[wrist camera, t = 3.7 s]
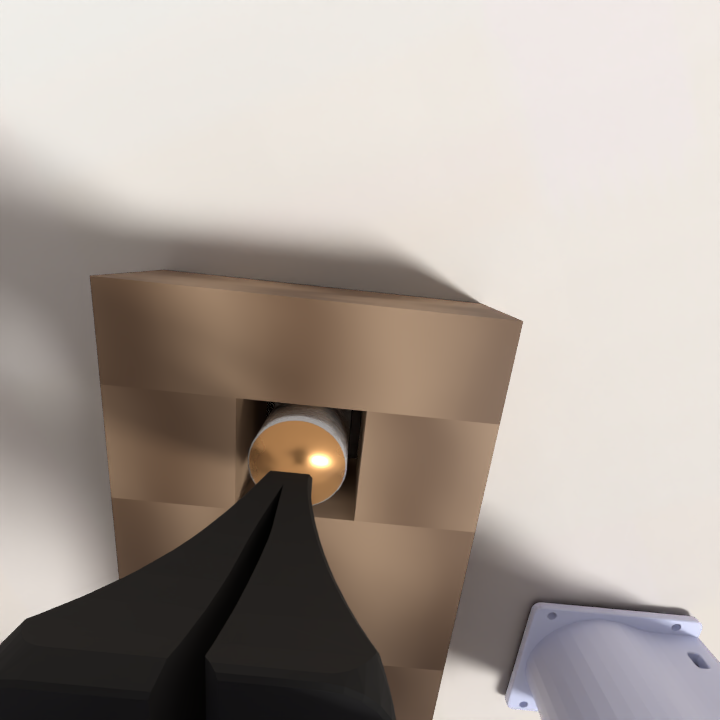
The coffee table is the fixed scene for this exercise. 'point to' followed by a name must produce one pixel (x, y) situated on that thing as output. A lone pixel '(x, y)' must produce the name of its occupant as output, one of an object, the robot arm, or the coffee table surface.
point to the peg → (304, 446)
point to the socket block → (315, 388)
